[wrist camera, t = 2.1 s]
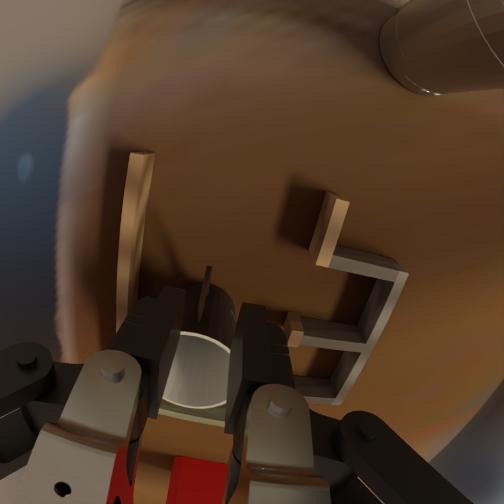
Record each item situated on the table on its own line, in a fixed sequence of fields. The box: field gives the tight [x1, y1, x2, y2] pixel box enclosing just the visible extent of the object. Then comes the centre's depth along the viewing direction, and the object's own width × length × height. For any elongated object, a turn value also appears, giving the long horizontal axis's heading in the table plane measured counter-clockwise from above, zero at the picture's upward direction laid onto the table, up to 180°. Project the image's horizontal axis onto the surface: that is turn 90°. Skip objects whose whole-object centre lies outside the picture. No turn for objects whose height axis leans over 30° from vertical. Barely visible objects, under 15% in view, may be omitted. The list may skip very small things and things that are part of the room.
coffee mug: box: [163, 266, 237, 409], centre depth 27 cm, size 12×9×10 cm
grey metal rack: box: [116, 151, 409, 427], centre depth 31 cm, size 30×27×4 cm
